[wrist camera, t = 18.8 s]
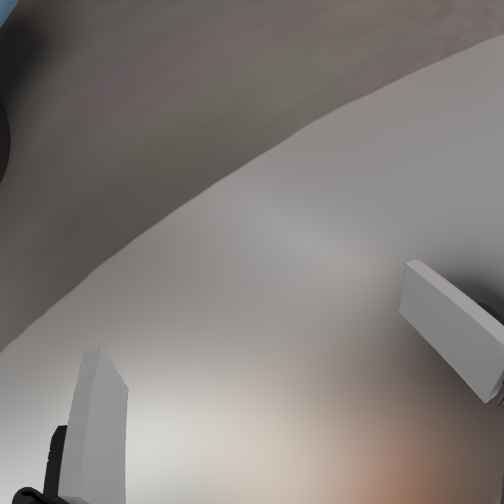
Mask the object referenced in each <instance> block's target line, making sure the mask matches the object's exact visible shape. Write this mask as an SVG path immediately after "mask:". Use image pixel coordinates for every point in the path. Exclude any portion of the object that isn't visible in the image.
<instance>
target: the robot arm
mask: <svg viewBox="0 0 504 504" xmlns="http://www.w3.org/2000/svg"><path fill="white" fill-rule="evenodd" d="M18 1H19V0H0V28H1V27H2V25H3V24H4V22H5V21H6V19H7V18H8V16H9V15H10V13H11V12H12V10H13V9H14V8H15V6H16V5H17V3H18ZM9 146H10V136H9V127H8V122H7V118H6V115H5V113H4V110H3V108H2V107H1V105H0V181H1V179H2V177H3V174H4V172H5V169H6V165H7V161H8V155H9ZM399 312H400V313H401V314H402V315H403V316H404V317H405V318H406V319H407V320H408V321H409V322H410V323H411V325H412V326H413V327H414V328H415V329H416V330H417V331H418V332H419V333H420V334H421V335H422V336H423V337H424V338H425V339H426V340H427V341H428V342H429V343H430V344H431V345H432V346H433V347H434V348H435V349H436V350H437V351H438V352H439V353H440V355H441V356H442V357H443V358H444V359H445V360H446V361H447V362H448V363H449V364H450V365H451V366H452V367H453V368H454V370H455V371H456V372H457V373H458V374H459V375H460V376H461V377H462V378H463V379H464V380H465V382H466V383H467V384H468V385H469V386H470V387H471V388H472V389H473V390H474V392H475V393H476V394H477V395H478V396H479V397H480V398H481V399H482V401H483V402H484V403H486V402H487V401H489V400H490V399H491V398H493V397H494V396H495V395H496V394H497V393H498V391H499V390H500V388H501V386H502V384H504V318H503V317H502V316H501V315H498V313H497V312H496V311H495V310H493V309H492V308H491V307H489V306H487V305H485V304H483V303H480V302H479V303H475V302H474V301H473V300H471V299H470V298H469V297H467V296H466V295H465V294H464V293H462V292H461V291H460V290H459V289H457V288H456V287H454V286H453V285H452V284H451V283H449V282H448V281H447V280H445V279H444V278H443V277H441V276H440V275H439V274H437V273H436V272H435V271H433V270H432V269H431V268H429V267H428V266H426V265H425V264H424V263H422V262H421V261H419V260H418V259H415V260H412V261H409V262H406V263H405V264H404V275H403V285H402V293H401V302H400V309H399ZM127 399H128V388H127V386H126V384H125V383H124V381H123V379H122V378H121V376H120V374H119V373H118V371H117V369H116V368H115V366H114V365H113V363H112V361H111V359H110V357H109V356H108V354H107V352H106V351H105V349H104V347H103V345H102V344H98V345H93V346H88V347H86V348H85V352H84V355H83V360H82V363H81V367H80V371H79V375H78V379H77V384H76V388H75V392H74V396H73V401H72V406H71V411H70V416H69V421H68V425H64V426H58V427H57V429H56V431H55V433H54V434H53V436H52V439H51V444H50V452H49V456H48V460H49V461H48V462H47V468H46V475H45V482H44V490H43V494H42V493H40V492H39V491H37V490H36V489H34V488H32V487H24V488H22V489H20V490H18V491H17V493H16V494H15V495H14V498H13V500H12V504H126V498H125V441H126V440H125V439H126V417H127ZM503 400H504V392H503V394H502V396H501V397H500V399H499V401H498V404H497V406H500V405H501V403H502V401H503ZM503 406H504V404H503ZM500 504H504V478H503V488H502V496H501V503H500Z"/></svg>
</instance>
